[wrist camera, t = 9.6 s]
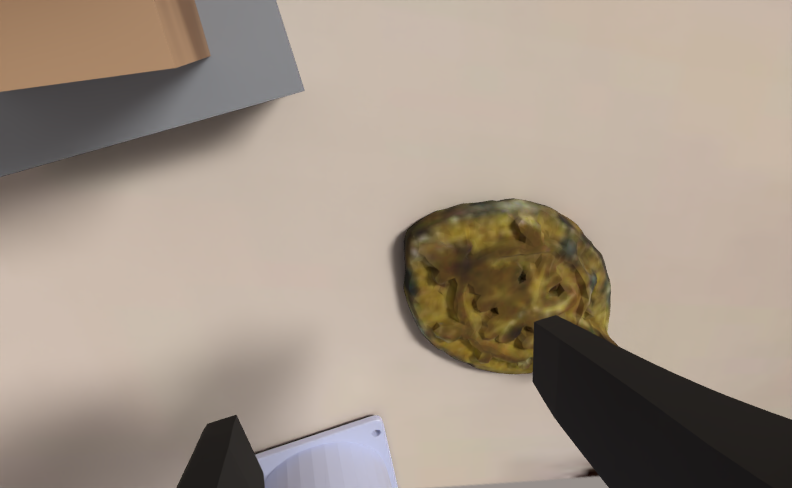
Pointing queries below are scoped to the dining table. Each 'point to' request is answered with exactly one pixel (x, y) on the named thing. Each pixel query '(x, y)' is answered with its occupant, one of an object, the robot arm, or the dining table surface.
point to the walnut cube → (95, 39)
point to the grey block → (154, 91)
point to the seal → (501, 280)
